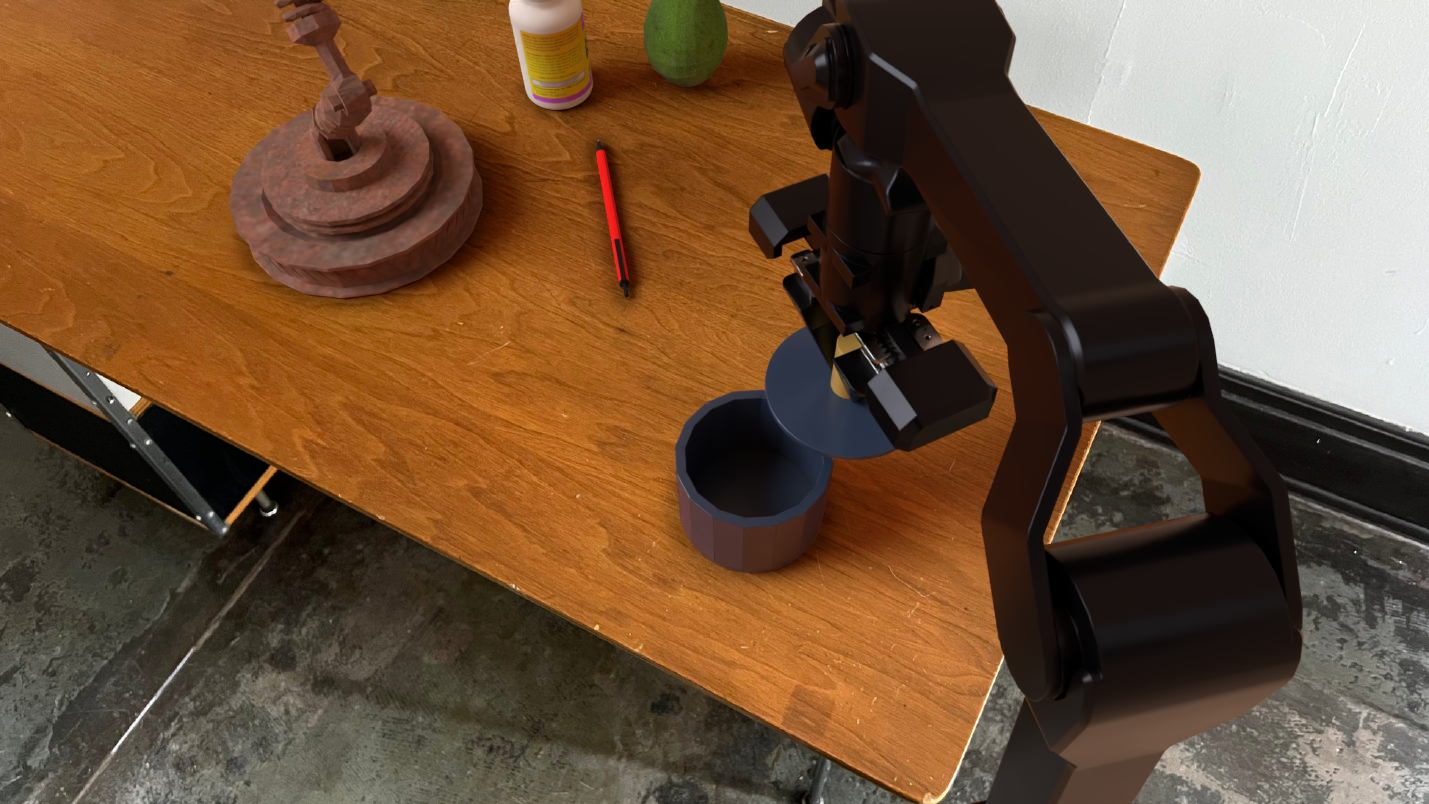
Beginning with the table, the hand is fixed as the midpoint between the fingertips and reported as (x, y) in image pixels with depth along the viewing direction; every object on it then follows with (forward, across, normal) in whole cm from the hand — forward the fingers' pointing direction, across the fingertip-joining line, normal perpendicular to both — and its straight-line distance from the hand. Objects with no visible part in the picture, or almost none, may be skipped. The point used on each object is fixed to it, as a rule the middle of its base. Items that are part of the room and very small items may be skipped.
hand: (848, 383), depth 63 cm
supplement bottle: (+11, +49, +4) cm, 50 cm away
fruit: (+11, +45, -8) cm, 47 cm away
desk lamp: (+11, +43, +25) cm, 51 cm away
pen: (+11, +31, +5) cm, 33 cm away
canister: (+11, 0, +7) cm, 13 cm away
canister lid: (+1, 0, 0) cm, 1 cm away
